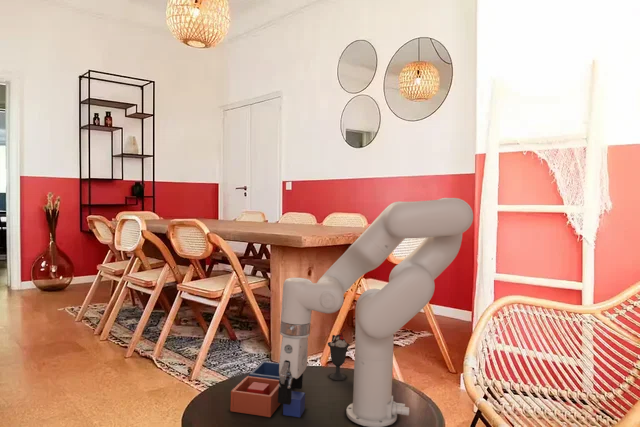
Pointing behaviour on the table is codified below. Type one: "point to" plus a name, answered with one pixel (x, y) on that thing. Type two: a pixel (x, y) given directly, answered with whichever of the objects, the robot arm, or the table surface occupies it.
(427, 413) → the table surface
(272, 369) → the blue bin
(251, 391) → the red block
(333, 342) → the sundae
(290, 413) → the blue block
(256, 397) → the terracotta bin
